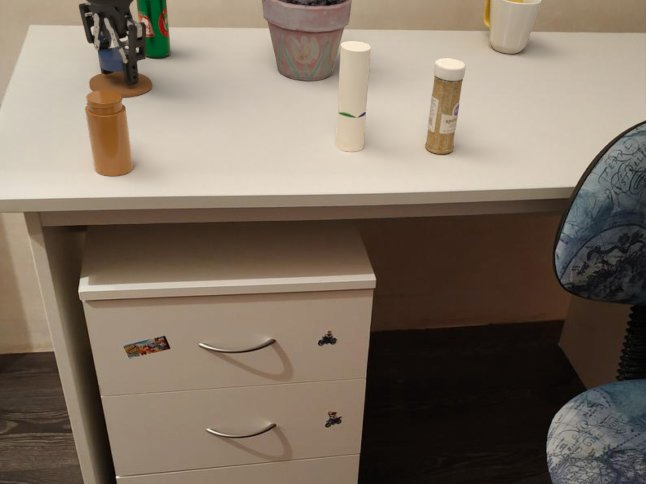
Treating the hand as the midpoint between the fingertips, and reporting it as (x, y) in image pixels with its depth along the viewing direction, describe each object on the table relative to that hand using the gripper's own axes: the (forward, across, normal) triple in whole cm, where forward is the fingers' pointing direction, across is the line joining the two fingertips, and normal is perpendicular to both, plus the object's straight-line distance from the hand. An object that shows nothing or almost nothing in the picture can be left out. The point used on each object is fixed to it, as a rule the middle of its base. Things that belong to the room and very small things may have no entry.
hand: (119, 78), depth 133 cm
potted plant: (+1, -15, -29) cm, 33 cm away
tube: (+1, -40, -12) cm, 42 cm away
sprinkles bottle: (+1, -50, -22) cm, 55 cm away
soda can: (+1, +8, -14) cm, 16 cm away
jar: (+1, -23, +19) cm, 30 cm away
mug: (+1, -30, -73) cm, 79 cm away
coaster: (+1, 0, 0) cm, 1 cm away
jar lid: (-4, 0, 0) cm, 4 cm away
